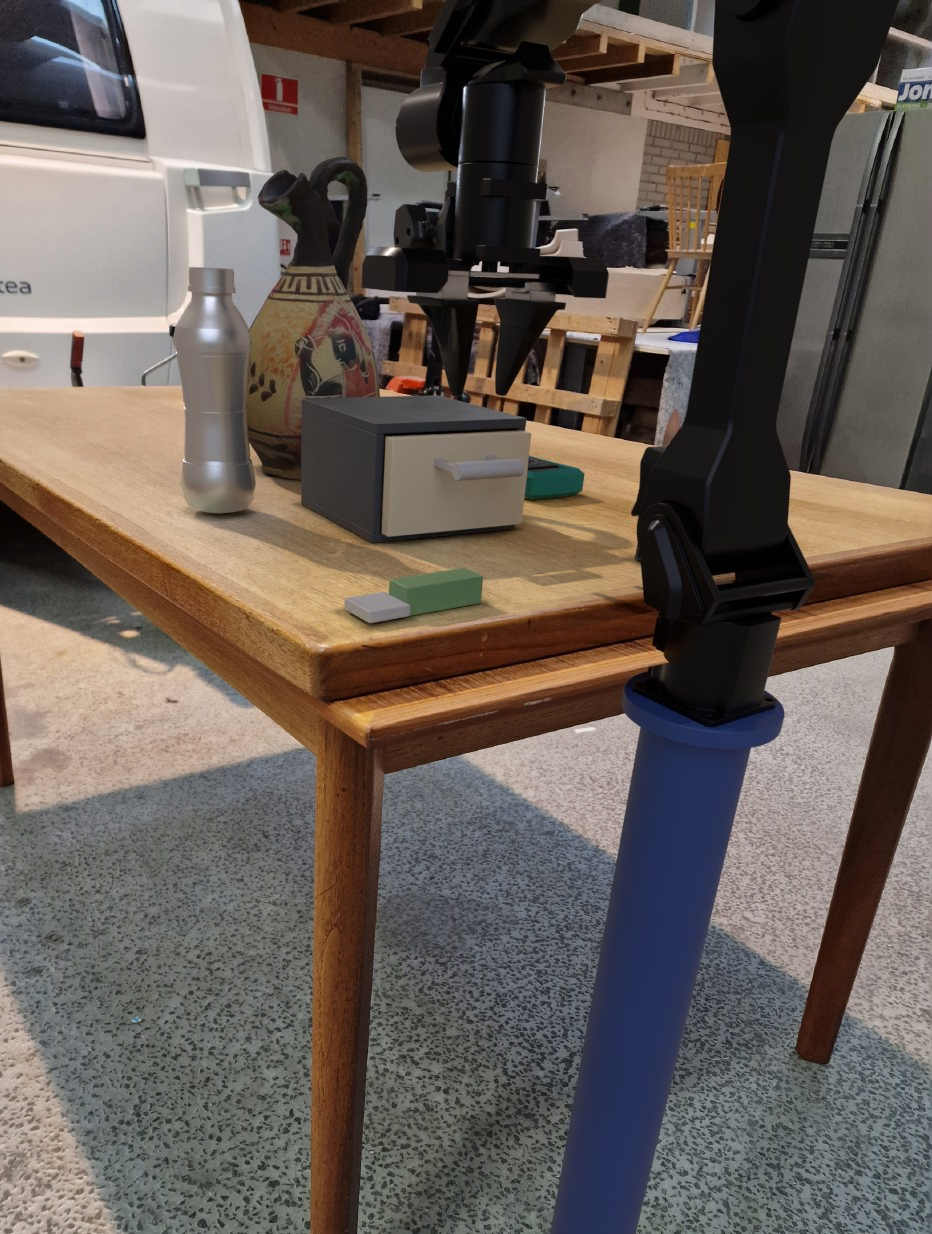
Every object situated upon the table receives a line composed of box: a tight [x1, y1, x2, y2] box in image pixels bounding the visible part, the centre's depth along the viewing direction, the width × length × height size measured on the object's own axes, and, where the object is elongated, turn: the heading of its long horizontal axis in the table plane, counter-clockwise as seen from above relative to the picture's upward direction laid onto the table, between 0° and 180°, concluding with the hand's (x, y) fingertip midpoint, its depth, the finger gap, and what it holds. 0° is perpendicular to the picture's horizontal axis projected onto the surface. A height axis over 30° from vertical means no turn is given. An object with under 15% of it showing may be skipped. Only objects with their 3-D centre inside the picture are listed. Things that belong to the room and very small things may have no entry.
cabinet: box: [300, 394, 528, 544], centre depth 87 cm, size 15×15×10 cm
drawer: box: [380, 429, 532, 537], centre depth 84 cm, size 18×13×8 cm
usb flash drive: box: [344, 567, 484, 624], centre depth 65 cm, size 10×3×2 cm, turn 123°
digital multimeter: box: [524, 455, 585, 500], centre depth 104 cm, size 7×15×3 cm, turn 32°
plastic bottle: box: [173, 266, 257, 515], centre depth 83 cm, size 6×7×20 cm
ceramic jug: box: [246, 156, 381, 481], centre depth 99 cm, size 17×15×30 cm
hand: (478, 395), depth 76 cm, fingers open, 4 cm apart
